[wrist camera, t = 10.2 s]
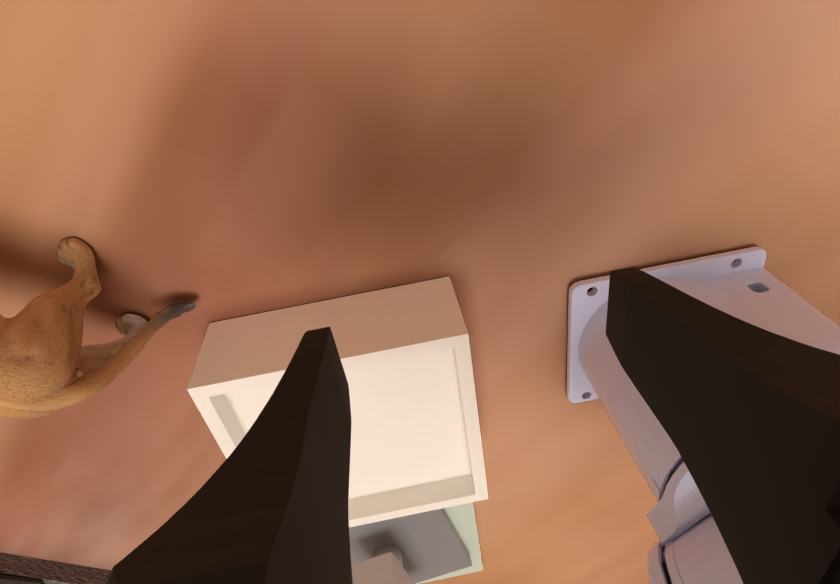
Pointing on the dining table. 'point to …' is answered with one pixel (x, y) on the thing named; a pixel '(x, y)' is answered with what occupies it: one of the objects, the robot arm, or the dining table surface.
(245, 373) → the tray
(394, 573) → the grey cover
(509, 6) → the dining table surface
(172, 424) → the dining table surface
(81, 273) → the lion figurine
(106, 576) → the picture frame
